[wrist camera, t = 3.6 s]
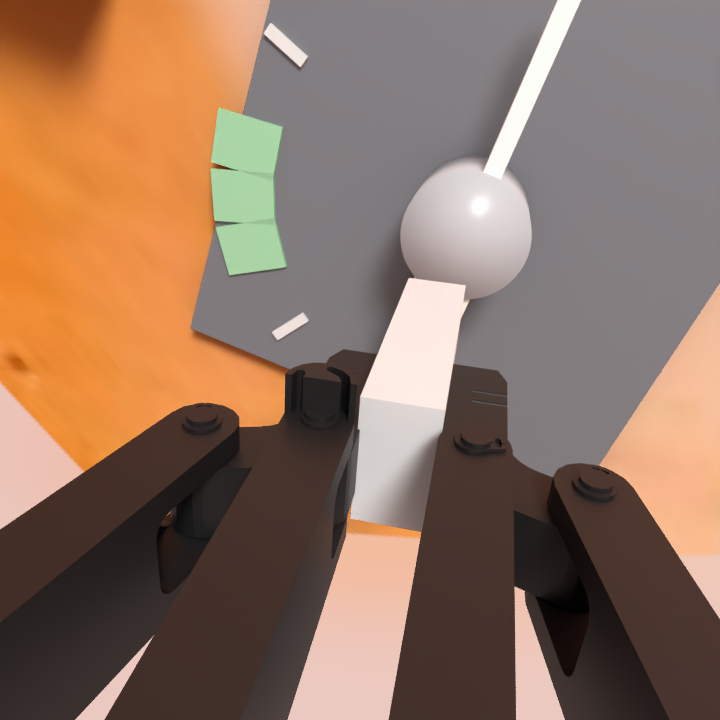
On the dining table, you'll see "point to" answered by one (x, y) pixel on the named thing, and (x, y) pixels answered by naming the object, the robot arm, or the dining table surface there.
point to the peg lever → (481, 196)
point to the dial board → (477, 137)
